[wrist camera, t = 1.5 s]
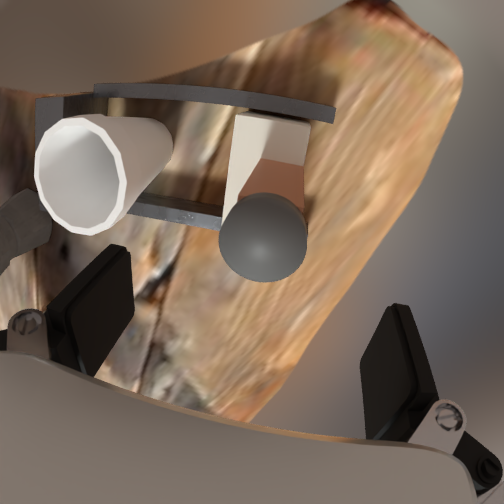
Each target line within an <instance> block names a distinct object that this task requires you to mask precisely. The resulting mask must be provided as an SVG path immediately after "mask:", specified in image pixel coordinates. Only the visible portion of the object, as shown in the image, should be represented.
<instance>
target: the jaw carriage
mask: <svg viewBox="0 0 504 504" xmlns="http://www.w3.org/2000/svg"><path fill="white" fill-rule="evenodd" d="M310 130H311V126H310V123H309V122H307V121H302V120H297V119H292V118H286V117H281V116H275V115H269V114H263V113H257V112H251V111H246V112H243V113H240V114H237V115H236V118H235V125H234V132H233V139H232V147H231V154H230V161H229V169H228V177H227V184H226V192H225V200H224V208H223V217H222V225H221V229H220V233H219V248H220V252H221V254H222V257H223V258H224V260H225V262H226V263H227V265H228V266H229V267H230V268H231V269H232V270H233V271H235V272H236V273H237V274H239V275H240V276H242V277H244V278H246V279H249V280H252V281H256V282H274V281H278V280H281V279H284V278H286V277H288V276H289V275H291V274H292V273H294V272H295V271H296V270H297V269H298V268H299V266H300V265H301V264H302V262H303V260H304V258H305V255H306V250H307V228H306V223H305V219H304V217H303V212H304V170H303V166H304V161H305V156H306V151H307V146H308V141H309V136H310Z"/></svg>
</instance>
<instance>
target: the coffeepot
mask: <svg viewBox="0 0 504 504" xmlns="http://www.w3.org/2000/svg"><path fill="white" fill-rule="evenodd" d="M51 232H52V219H51V215H50V214H49V212H46V211H41V210H40V206H39V196H38V194H37V193H36V192H34V191H32V190H30V189H28V188H27V189H25V190H23V191H21V192H19V193H17V194H15V195H14V196H13V197H11V198H10V199H9V200H8V201H7V202H5V203H4V204H3V205H2V206H1V207H0V275H1V274H2V273H3V272H4V270H5V269H6V268H7V267H8V266H9V265H10V260H11V259H13V258H14V257H17V256H19V255H21V254H23V253H25V252H27V251H30V250H32V249H34V248H36V247H38V246H40V245H42V244H44V243H46V242H49V238H50V235H51Z"/></svg>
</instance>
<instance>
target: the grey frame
mask: <svg viewBox="0 0 504 504" xmlns="http://www.w3.org/2000/svg"><path fill="white" fill-rule="evenodd" d="M108 98H150V99H168V100H182V101H194V102H204V103H214V104H223V105H231V106H238V107H245V108H252V109H259V110H265V111H271V112H277V113H283V114H288V115H293V116H298V117H303V118H308V119H313V120H318V121H322V122H327V123H331V124H333V122H334V117H335V112H336V108H335V107H331V106H327V105H322V104H318V103H313V102H308V101H303V100H298V99H293V98H287V97H282V96H276V95H270V94H263V93H257V92H250V91H242V90H234V89H226V88H216V87H206V86H193V85H179V84H157V83H103V84H94V92H80V93H72V94H64V95H56V96H50V97H43V98H37V99H36V103H35V152H36V150H37V148H38V146H39V144H40V142H41V139H42V137H43V135H44V133H45V132H46V131H47V130H48V129H49V128H51V127H52V126H53V125H55V124H56V123H57V122H59V121H60V120H61V119H64V118H68V117H73V116H78V115H87V114H102V115H104V116H107V104H108ZM38 196H39V193H38ZM39 206H40V210H41V211H46V212H48V211H47V209H46V208H45V206H44V205H43V203H42V202H41V200H40V196H39ZM223 208H224V206H218V205H213V204H207V203H202V202H196V201H190V200H184V199H179V198H173V197H167V196H161V195H155V194H148V193H141V194H140V195H139V196H138V197H137V199H136V201H135V202H134V203H133V205H132V206H131V207H130V209H129V210H128V212H127V214H133V215H138V216H143V217H149V218H154V219H159V220H165V221H170V222H175V223H181V224H186V225H191V226H196V227H201V228H207V229H212V230H217V231H220V229H221V225H222V217H223ZM305 223H306V222H305ZM306 228H307V237H308V223H306Z"/></svg>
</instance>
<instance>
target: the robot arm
mask: <svg viewBox="0 0 504 504" xmlns="http://www.w3.org/2000/svg"><path fill="white" fill-rule="evenodd" d="M134 311H135V307H134V296H133V284H132V269H131V255H130V252H128V251H127V249H126V247H124V246H119V245H115V244H110V245H109V246H108V247H107V248H106V249H104V250H103V251H102V252H101V253H100V254H99V255H98V256H97V257H96V258H95V259H94V260H93V261H92V262H91V263H90V264H89V265H88V266H87V267H86V268H85V269H84V270H82V271H81V272H80V273H79V274H78V275H77V276H76V277H75V278H74V279H73V280H72V281H71V282H70V283H69V284H68V285H67V286H66V287H65V288H64V289H63V290H62V291H61V292H60V294H59V295H58V296H57V297H56V298H55V299H54V300H53V301H52V302H51V303H50V304H49V305H48V306H47V310H45V311H44V312H43V313H42V312H41V311H39V310H37V309H24V310H21V311H19V312H17V313H16V314H14V315H13V316H12V317H11V319H10V320H9V323H8V329H6V330H1V331H0V504H504V482H502V480H501V478H502V471H503V469H502V465H501V463H500V461H499V459H498V458H497V457H496V456H495V455H494V454H493V453H492V452H490V451H489V450H488V449H487V448H485V447H484V446H483V445H482V444H480V443H479V442H478V441H477V440H476V439H474V438H473V437H472V436H470V435H469V434H468V433H467V432H466V431H465V428H466V424H467V421H466V416H465V413H464V411H463V410H462V408H461V407H460V406H458V405H457V404H456V403H454V402H453V401H450V400H446V399H444V400H439V397H438V393H437V389H436V386H435V382H434V379H433V375H432V372H431V369H430V365H429V363H428V359H427V356H426V353H425V350H424V347H423V344H422V341H421V338H420V335H419V332H418V329H417V326H416V323H415V321H414V318H413V315H412V312H411V310H410V307H409V306H408V305H402V304H397V303H394V304H393V305H392V306H388V307H387V308H386V310H385V312H384V314H383V316H382V318H381V320H380V322H379V325H378V326H377V328H376V331H375V333H374V334H373V336H372V338H371V340H370V343H369V344H368V346H367V348H366V350H365V352H364V354H363V356H362V358H361V361H360V373H361V382H362V393H363V404H364V415H365V416H364V417H365V430H366V439H357V438H346V437H336V436H327V435H318V434H310V433H303V432H296V431H289V430H283V429H277V428H271V427H265V426H260V425H255V424H250V423H245V422H240V421H236V420H231V419H227V418H222V417H218V416H214V415H210V414H206V413H202V412H198V411H194V410H190V409H187V408H183V407H180V406H176V405H173V404H169V403H166V402H163V401H159V400H156V399H153V398H150V397H147V396H144V395H141V394H138V393H135V392H132V391H129V390H126V389H123V388H120V387H118V386H115V385H112V384H110V383H107V382H104V381H102V380H99V379H96V378H94V376H95V374H96V373H97V371H98V370H99V368H100V366H101V365H102V363H103V362H104V360H105V359H106V357H107V356H108V354H109V352H110V351H111V349H112V348H113V346H114V345H115V343H116V342H117V340H118V339H119V337H120V336H121V334H122V333H123V331H124V330H125V328H126V327H127V325H128V324H129V322H130V321H131V319H132V317H133V315H134Z"/></svg>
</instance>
